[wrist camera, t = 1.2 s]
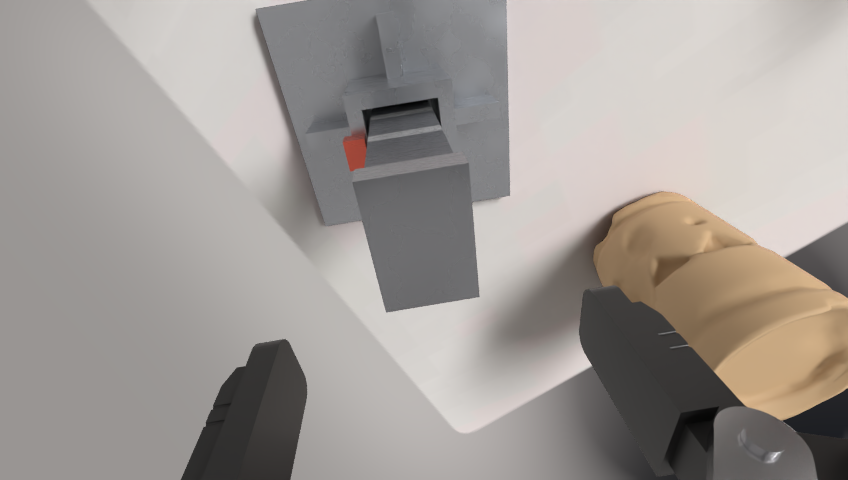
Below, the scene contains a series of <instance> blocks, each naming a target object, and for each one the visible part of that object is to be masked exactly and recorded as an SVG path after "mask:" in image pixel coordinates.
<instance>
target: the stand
mask: <svg viewBox="0 0 848 480" xmlns="http://www.w3.org/2000/svg"><path fill="white" fill-rule="evenodd" d="M256 12H257V15H258V18H259V22H260V25H261V28H262V31H263V34H264V37H265V40H266V43H267V46H268V49H269V52H270V56H271V59H272V62H273V65H274V68H275V71H276V74H277V77H278V80H279V83H280V87H281V90H282V93H283V96H284V99H285V102H286V105H287V108H288V111H289V114H290V117H291V121H292V124H293V127H294V130H295V133H296V136H297V139H298V142H299V145H300V148H301V151H302V155H303V158H304V161H305V164H306V167H307V170H308V173H309V176H310V179H311V182H312V186H313V189H314V192H315V195H316V198H317V201H318V204H319V207H320V210H321V213H322V216H323V220H324V223H325V226H330V225H336V224H342V223H348V222H354V221H360V220H362V218H361V214H360V210H359V206H358V202H357V199H356V195H355V191H354V187H353V183H352V181H353V175H354V170H355V169H360V168H364V165H365V158H366V150H367V142H368V134H369V127H370V119H371V111H372V108H377V107H383V106H389V105H395V104H401V103H407V102H414V101H420V100H426V99H428V100H429V103H430V105H431V107H432V109H433V111H434V113H435V115H436V117H437V119H438V121H439V124H440V126H441V128H442V130H443V132H444V134H445V136H446V138H447V140H448V143H449V145H450V147H451V149H452V151H453V153H456V152H462V151H463V153H464V155H465V157H466V159H467V160H468V162H469V172H470V184H471V197H472V202H475V201H481V200H487V199H493V198H499V197H505V196H510V171H509V118H508V64H507V10H506V0H307V1H301V2H295V3H288V4H282V5H276V6H270V7H264V8H258V9H256Z"/></svg>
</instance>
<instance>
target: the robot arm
mask: <svg viewBox="0 0 848 480" xmlns="http://www.w3.org/2000/svg"><path fill="white" fill-rule="evenodd" d="M579 335H580V341H581V345H582V348H583V350H584V352H585V354H586V356H587V358H588V359H589V361H590V363H591V364H592V366H593V368H594V370H595V371H596V373H597V375H598V376H599V378H600V380H601V382H602V383H603V385H604V387H605V388H606V390H607V392H608V394H609V395H610V397H611V399H612V400H613V402H614V404H615V406H616V407H617V409H618V411H619V413H620V414H621V416H622V418H623V419H624V421H625V423H626V425H627V426H628V428H629V430H630V431H631V433H632V435H633V436H634V438H635V440H636V442H637V443H638V445H639V447H640V449H641V450H642V452H643V454H644V455H645V457H646V459H647V460H648V462H649V464H650V466H651V467H652V469H653V471H654V472H655V474H656V476H657V477H659V476H665V475H670V474H676V476H677V478H678V479H679V480H848V439H842V438H834V437H826V436H819V435H813V434H805V433H800V432H795V431H794V430H793V429H792V428H791V427H789V426H788V425H787V424H785V423H784V422H783V421H781V420H779V419H777V418H776V417H774V416H772V415H770V414H768V413H765V412H763V411H760V410H757V409H753V408H749V407H747V406H745V405H744V404H743V403H742V402H741V401H740V400H739V399H738V398H737V397H736V395H735V394H734V393H733V392H732V391H731V390H730V389H729V388H728V387H727V386H726V384H725V383H724V382H723V381H722V380H721V379H720V378H719V377H718V376H717V375H716V373H715V372H714V371H713V370H712V369H711V368H710V367H709V366H708V365H707V364H706V362H705V361H704V360H703V359H702V358H701V357H700V356H699V355H698V354H697V353H696V351H695V350H694V349H693V348H692V347H689V346H688V343H687V342H686V340H685V339H684V338H683V337H682V336H681V335H680V334H679V333H676V329H675V328H674V327H673V326H672V325H671V324H670V323H669V322H668V321H667V320H666V318H665V317H664V316H663V315H662V314H661V313H659V312H658V311H656V310H654V309H653V308H651V307H649V306H648V305H646V304H644V303H643V302H641V301H639V302H633V303H632V302H631V301H630V300H629V299H628V297H627V296H626V295H625V294H624V293H623V291H622V290H621V289H620V288H619V287H617V286H615V285H612V286H606V287H600V288H594V289H588V290H585V292H584V294H583V301H582V310H581V319H580V328H579ZM306 399H307V383H306V378H305V375H304V373H303V371H302V369H301V367H300V365H299V362H298V360H297V358H296V356H295V354H294V352H293V350H292V348H291V345H290V343H289V342H288V341H287V340H286V339H283V340H277V341H271V342H265V343H259V344H256V345H255V346H254V347H253V349H252V351H251V354H250V356H249V359H248V361H247V364H246V366H244V367H238V368H236V369H235V371H234V372H233V373H232V374H231V375H230V377H229V378H228V379H227V380H226V381H225V383H224V384H223V385H222V387H221V389H220V391H219V393H218V396H217V398H216V400H215V403H214V405H213V410H211V412H210V414H209V416H208V419H207V421H206V427H204V428H203V430H202V432H201V435H200V437H199V439H198V442H197V444H196V446H195V448H194V451H193V453H192V455H191V458H190V460H189V462H188V465H187V467H186V469H185V472H184V474H183V476H182V479H181V480H290V478H291V474H292V469H293V464H294V459H295V454H296V449H297V443H298V439H299V434H300V429H301V424H302V419H303V414H304V409H305V404H306Z"/></svg>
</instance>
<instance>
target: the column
mask: <svg viewBox="0 0 848 480" xmlns="http://www.w3.org/2000/svg"><path fill="white" fill-rule="evenodd" d="M352 183H353V187H354V191H355V195H356V199H357V202H358V206H359V210H360V214H361V218H362V222H363V225H364V229H365V233H366V237H367V241H368V245H369V249H370V252H371V256H372V260H373V264H374V268H375V272H376V275H377V279H378V283H379V287H380V291H381V295H382V298H383V302H384V306H385V310H386V312H392V311H398V310H404V309H410V308H416V307H422V306H428V305H434V304H440V303H446V302H452V301H458V300H464V299H470V298H476V297H479V285H478V273H477V260H476V247H475V235H474V222H473V210H472V197H471V184H470V172H469V162H468V160H467V159H466V157H465V155H464V153H463V151H462V152H456V153H453V151H452V149H451V147H450V145H449V143H448V140H447V138H446V136H445V134H444V132H443V130H442V128H441V126H440V124H439V121H438V119H437V117H436V115H435V113H434V111H433V109H432V107H431V105H430V103H429V100H428V99H426V100H420V101H414V102H407V103H401V104H395V105H389V106H383V107H377V108H372V111H371V119H370V127H369V134H368V142H367V150H366V158H365V165H364V168H360V169H355V170H354V175H353V181H352Z"/></svg>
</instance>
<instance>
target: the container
mask: <svg viewBox="0 0 848 480" xmlns="http://www.w3.org/2000/svg"><path fill="white" fill-rule="evenodd" d="M593 262H594V265H595V267H596V270H597V274H598V277H599V279H600V281H601V284H602V286H603V287H606V286H612V285H615V286H617V287H619V288H620V289H621V290H622V291H623V293H624V294H625V295H626V296H627V297H628V299H629V300H630V301H631V302H632V303H633V302H639V301H641V302H643V303H644V304H646V305H648V306H649V307H651V308H653V309H654V310H656V311H658V312H659V313H661V314H662V315H663V316H664V317H665V318H666V320H667V321H668V322H669V323H670V324H671V325H672V326H673V327H674V328H675V329H676V333H679V334H680V335H681V336H682V337H683V338H684V339H685V340H686V342H687V343H688V346H689V347H692V348H693V349H694V350H695V351H696V353H697V354H698V355H699V356H700V357H701V358H702V359H703V360H704V361H705V362H706V364H707V365H708V366H709V367H710V368H711V369H712V370H713V371H714V372H715V373H716V375H717V376H718V377H719V378H720V379H721V380H722V381H723V382H724V383H725V384H726V386H727V387H728V388H729V389H730V390H731V391H732V392H733V393H734V394H735V395H736V397H737V398H738V399H739V400H740V401H741V402H742V403H743V404H744V405H745V406H747V407H749V408H753V409H757V410H760V411H763V412H765V413H768V414H770V415H772V416H774V417H776V418H777V419H779V420H781V421H782V420H784V419H787V418H790V417H792V416H795V415H798V414H800V413H801V412H803V411H805V410H807V409H810V408H812V407H814V406H815V405H817V404H819V403H821V402H823V401H825V400H827V399H829V398H831V397H833V396H835V395H837V394H839V393H841V392H842V391H844V390H845V389H846V388H848V298H846V297H845V296H843V295H842V294H840V293H838V292H835V291H832V290H831V288H830V287H829V286H827V285H826V284H825V283H823V282H821V281H820V280H818V279H816V278H815V277H813V276H812V275H810V274H808V273H807V272H805V271H804V270H802V269H800V268H799V267H797V266H796V265H794V264H792V263H791V262H789V261H788V260H786V259H785V258H783V257H781V256H780V255H778V254H777V253H775V252H773V251H771V250H769V249H766V248H763V247H761V246H759V245H758V244H757V243H756V242H755V240H754V239H752V238H751V237H749V236H748V235H746V234H744V233H743V232H741V231H740V230H738V229H736V228H735V227H733V226H732V225H730V224H729V223H727V222H725V221H724V220H722V219H721V218H719V217H717V216H716V215H714V214H713V213H711V212H709V211H708V210H706V209H704V208H703V207H701V206H699V205H698V204H696V203H695V202H693V201H692V200H690V199H689V198H687V197H685V196H683V195H681V194H677V193H672V192H658V193H655V194H652V195H650V196H647V197H644V198H642V199H640V200H638V201H637V202H634V203H632V204H630V205H627V206H625V207H624V208H622V209H621V210H619V211H618V212H616V213H615V214H614V215H613V218H612V225H611V227H610V229H609V231H608V234H607V236H606V238H605V239H604V240H603V241H602V242H600V243H599V244H598V245H596V247H595V249H594V255H593Z"/></svg>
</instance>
